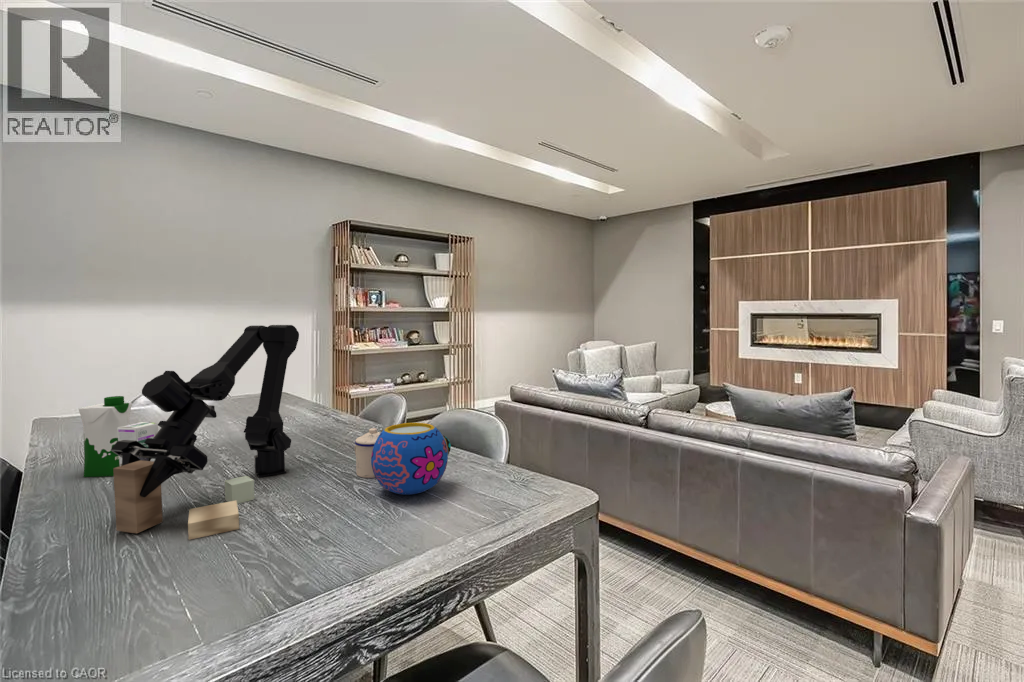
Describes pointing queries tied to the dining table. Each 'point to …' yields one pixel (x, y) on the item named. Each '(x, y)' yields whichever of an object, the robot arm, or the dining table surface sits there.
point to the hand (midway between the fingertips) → (131, 495)
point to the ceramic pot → (410, 457)
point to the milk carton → (103, 434)
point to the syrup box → (137, 433)
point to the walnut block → (135, 498)
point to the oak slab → (213, 519)
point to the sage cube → (239, 489)
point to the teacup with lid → (365, 453)
